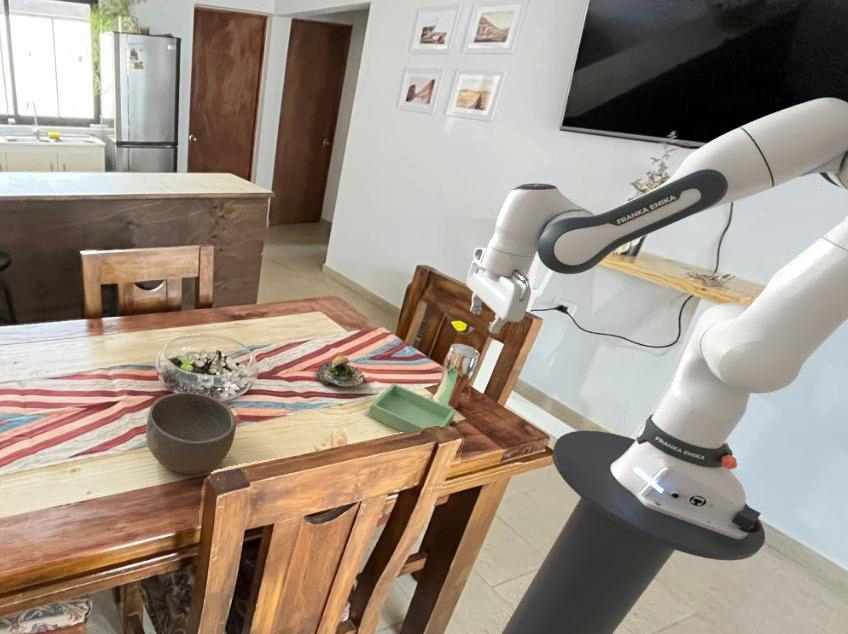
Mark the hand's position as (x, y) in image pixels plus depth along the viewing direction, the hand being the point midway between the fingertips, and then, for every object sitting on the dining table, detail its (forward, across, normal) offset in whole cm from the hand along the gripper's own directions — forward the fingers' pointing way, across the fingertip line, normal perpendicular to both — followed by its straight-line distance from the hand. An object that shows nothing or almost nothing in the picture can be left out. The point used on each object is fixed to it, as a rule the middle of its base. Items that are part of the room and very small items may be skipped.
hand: (483, 322), depth 113 cm
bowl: (+25, -25, +61) cm, 71 cm away
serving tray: (+25, -3, +10) cm, 27 cm away
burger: (+25, +11, +24) cm, 37 cm away
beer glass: (+25, +6, -1) cm, 26 cm away
